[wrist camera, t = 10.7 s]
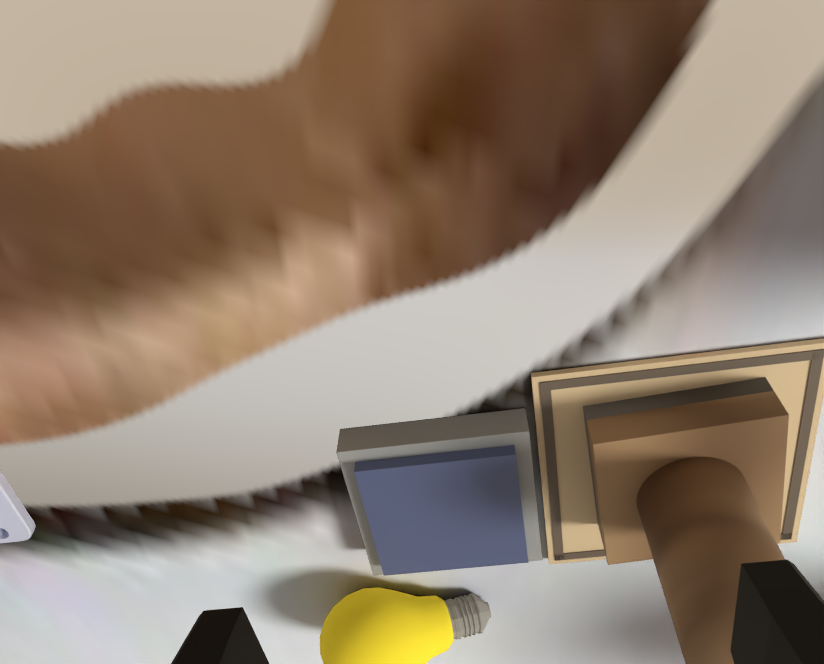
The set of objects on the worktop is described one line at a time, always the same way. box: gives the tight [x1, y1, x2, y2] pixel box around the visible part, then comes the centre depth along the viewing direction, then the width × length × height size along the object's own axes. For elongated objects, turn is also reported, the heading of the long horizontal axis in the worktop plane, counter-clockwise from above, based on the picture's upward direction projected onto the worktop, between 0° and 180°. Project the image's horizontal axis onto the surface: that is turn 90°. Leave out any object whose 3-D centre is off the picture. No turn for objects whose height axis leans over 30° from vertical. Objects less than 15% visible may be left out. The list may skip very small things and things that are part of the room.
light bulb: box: [320, 587, 491, 664], centre depth 25 cm, size 3×6×4 cm, turn 92°
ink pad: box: [337, 408, 542, 575], centre depth 22 cm, size 6×6×1 cm
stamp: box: [583, 377, 789, 664], centre depth 19 cm, size 5×5×6 cm
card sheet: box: [531, 338, 824, 564], centre depth 22 cm, size 8×8×1 cm
